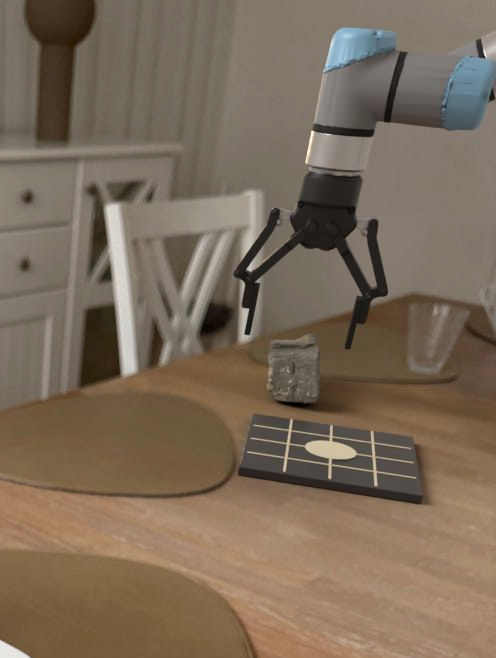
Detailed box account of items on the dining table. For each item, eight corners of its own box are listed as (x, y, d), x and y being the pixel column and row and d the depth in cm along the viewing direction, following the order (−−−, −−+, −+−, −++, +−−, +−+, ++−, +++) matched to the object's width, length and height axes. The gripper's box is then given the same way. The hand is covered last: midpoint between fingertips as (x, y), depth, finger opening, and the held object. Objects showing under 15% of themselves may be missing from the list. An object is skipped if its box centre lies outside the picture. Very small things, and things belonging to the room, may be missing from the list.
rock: (240, 340, 144) (308, 325, 143) (244, 385, 147) (310, 370, 146) (274, 371, 129) (349, 354, 128) (278, 420, 132) (351, 404, 132)
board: (410, 444, 124) (413, 435, 123) (421, 504, 107) (423, 494, 106) (251, 420, 128) (252, 411, 127) (237, 474, 111) (239, 465, 111)
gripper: (434, 179, 125) (389, 346, 136) (238, 158, 130) (210, 321, 141) (439, 185, 119) (391, 360, 130) (232, 163, 123) (204, 333, 135)
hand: (296, 340), depth 135 cm, fingers open, 13 cm apart
